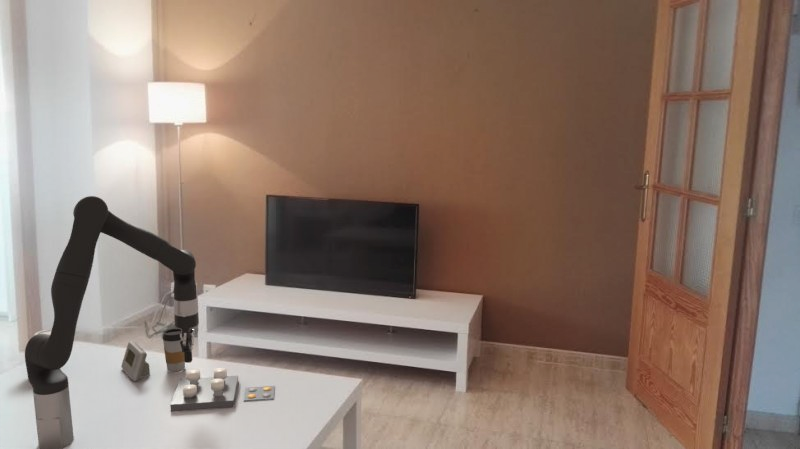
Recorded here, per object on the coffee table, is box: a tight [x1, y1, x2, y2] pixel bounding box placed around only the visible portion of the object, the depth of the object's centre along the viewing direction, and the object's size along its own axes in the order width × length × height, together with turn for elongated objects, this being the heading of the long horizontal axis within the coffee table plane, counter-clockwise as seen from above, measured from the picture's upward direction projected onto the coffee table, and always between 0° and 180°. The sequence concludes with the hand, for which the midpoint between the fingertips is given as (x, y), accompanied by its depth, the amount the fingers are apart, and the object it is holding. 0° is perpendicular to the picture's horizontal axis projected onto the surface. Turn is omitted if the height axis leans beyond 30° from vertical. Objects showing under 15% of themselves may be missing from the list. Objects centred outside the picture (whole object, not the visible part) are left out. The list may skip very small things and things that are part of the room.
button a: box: [183, 385, 197, 398], centre depth 219 cm, size 4×4×5 cm
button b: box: [211, 379, 224, 396], centre depth 220 cm, size 4×4×5 cm
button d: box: [213, 367, 228, 384], centre depth 228 cm, size 4×4×5 cm
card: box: [243, 385, 275, 402], centre depth 226 cm, size 10×10×1 cm
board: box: [169, 375, 239, 412], centre depth 224 cm, size 20×20×2 cm
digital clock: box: [120, 340, 151, 382], centre depth 241 cm, size 16×9×11 cm, turn 27°
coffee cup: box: [162, 327, 186, 374], centre depth 245 cm, size 8×8×15 cm
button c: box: [186, 369, 201, 386], centre depth 227 cm, size 4×4×5 cm
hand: (188, 361), depth 216 cm, fingers closed
